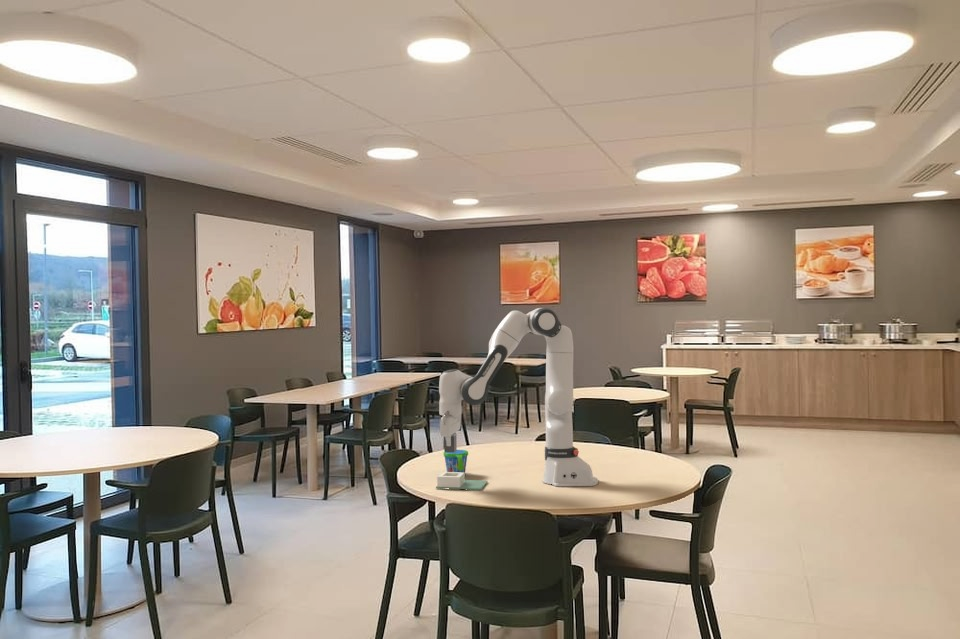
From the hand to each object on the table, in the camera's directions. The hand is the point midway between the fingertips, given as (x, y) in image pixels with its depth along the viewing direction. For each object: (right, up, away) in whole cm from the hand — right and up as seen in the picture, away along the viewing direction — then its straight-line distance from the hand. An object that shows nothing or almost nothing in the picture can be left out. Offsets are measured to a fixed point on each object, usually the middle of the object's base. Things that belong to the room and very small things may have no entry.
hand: (450, 444), depth 272 cm
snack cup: (+1, -17, +21) cm, 27 cm away
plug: (0, -3, 0) cm, 3 cm away
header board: (+5, -17, +1) cm, 17 cm away
